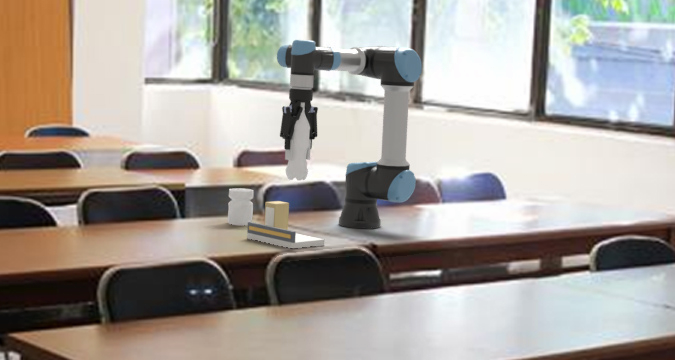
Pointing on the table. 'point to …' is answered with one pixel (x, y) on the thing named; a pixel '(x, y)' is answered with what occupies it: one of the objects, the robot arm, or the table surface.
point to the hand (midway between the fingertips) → (297, 159)
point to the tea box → (277, 214)
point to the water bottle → (299, 148)
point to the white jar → (240, 206)
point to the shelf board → (281, 236)
